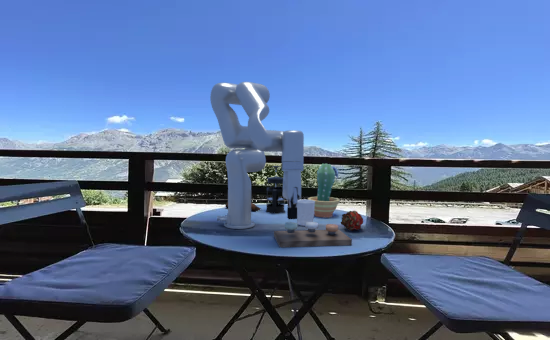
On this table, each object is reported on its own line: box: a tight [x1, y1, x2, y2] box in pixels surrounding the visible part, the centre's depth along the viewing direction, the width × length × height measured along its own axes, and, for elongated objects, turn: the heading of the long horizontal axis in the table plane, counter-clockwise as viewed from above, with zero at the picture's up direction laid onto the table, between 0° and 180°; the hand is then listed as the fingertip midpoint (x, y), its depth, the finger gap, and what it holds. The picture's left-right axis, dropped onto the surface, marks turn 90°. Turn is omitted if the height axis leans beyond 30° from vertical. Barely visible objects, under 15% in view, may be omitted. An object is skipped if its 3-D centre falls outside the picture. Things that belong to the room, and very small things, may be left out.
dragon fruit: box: [340, 210, 364, 232], centre depth 132 cm, size 8×8×12 cm
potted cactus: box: [307, 163, 341, 218], centre depth 157 cm, size 15×15×25 cm
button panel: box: [273, 228, 353, 248], centre depth 116 cm, size 25×13×2 cm, turn 99°
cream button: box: [304, 221, 319, 233], centre depth 116 cm, size 4×4×3 cm
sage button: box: [284, 221, 298, 233], centre depth 115 cm, size 4×4×3 cm
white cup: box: [296, 199, 315, 227], centre depth 140 cm, size 8×8×10 cm
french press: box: [265, 165, 285, 214], centre depth 163 cm, size 12×9×23 cm
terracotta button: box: [325, 223, 339, 235], centre depth 117 cm, size 4×4×3 cm
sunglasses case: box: [224, 201, 262, 212], centre depth 170 cm, size 18×7×7 cm
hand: (292, 218), depth 114 cm, fingers closed
